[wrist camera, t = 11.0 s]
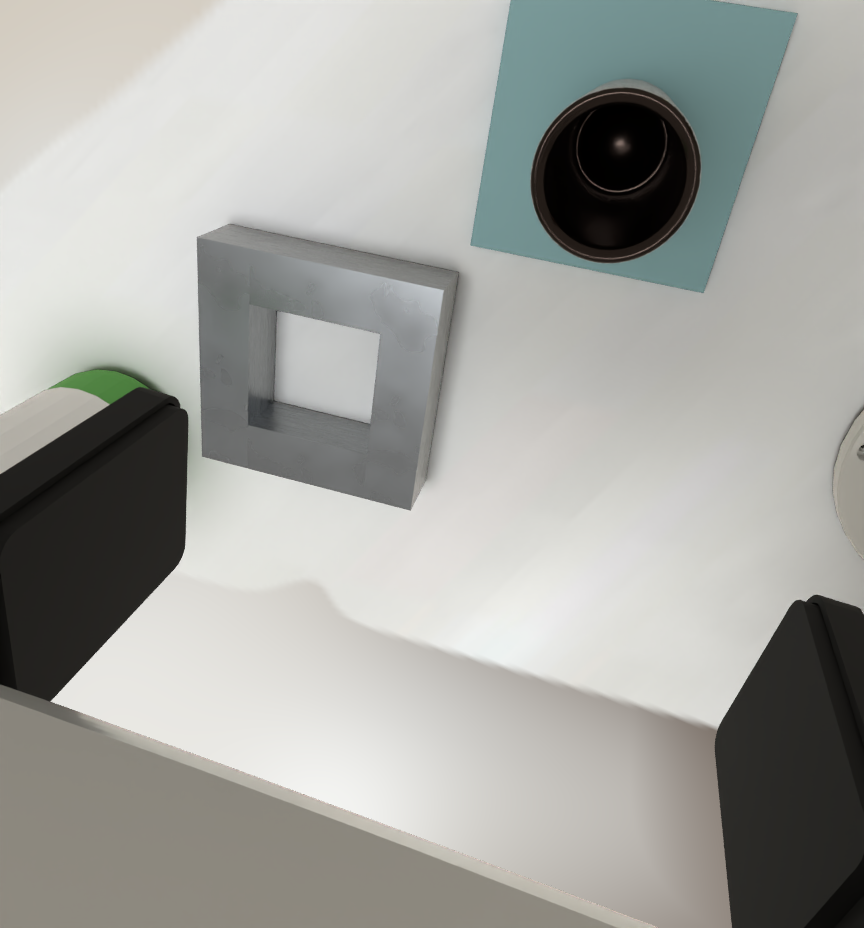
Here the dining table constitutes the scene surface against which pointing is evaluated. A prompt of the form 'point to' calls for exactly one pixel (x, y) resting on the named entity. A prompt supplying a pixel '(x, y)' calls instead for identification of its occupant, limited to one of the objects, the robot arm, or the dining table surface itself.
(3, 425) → the wine bottle
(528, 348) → the dining table surface
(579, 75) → the mat
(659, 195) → the grey cylinder
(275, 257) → the socket block
